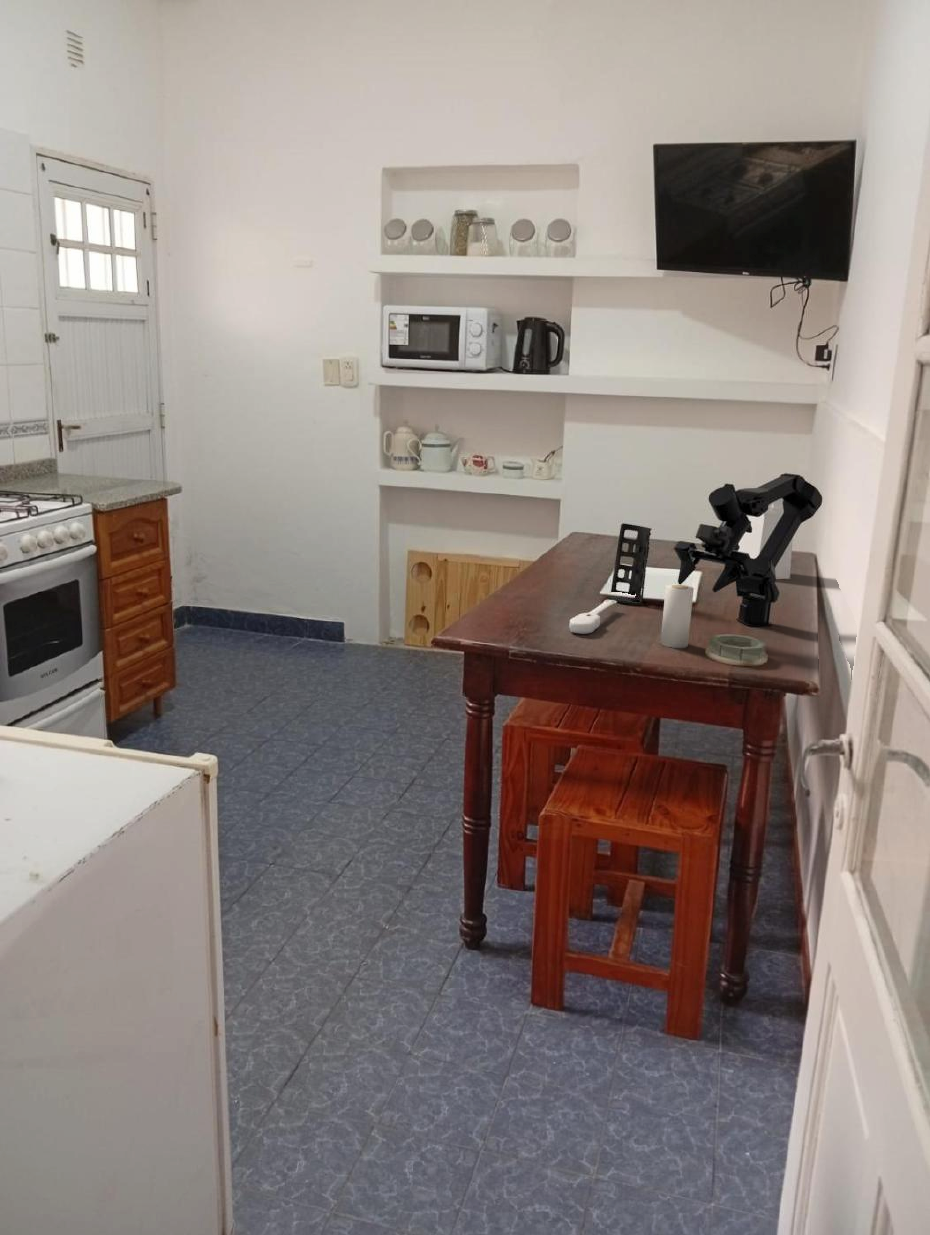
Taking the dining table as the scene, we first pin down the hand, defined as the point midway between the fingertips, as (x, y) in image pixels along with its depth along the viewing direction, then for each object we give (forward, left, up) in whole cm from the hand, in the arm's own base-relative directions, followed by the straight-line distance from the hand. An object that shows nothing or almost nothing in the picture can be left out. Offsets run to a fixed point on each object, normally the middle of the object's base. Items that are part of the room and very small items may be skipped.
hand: (696, 587), depth 222 cm
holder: (-2, -37, -12) cm, 39 cm away
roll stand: (-4, +14, -12) cm, 19 cm away
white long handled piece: (+16, -17, -12) cm, 27 cm away
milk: (-59, -65, -13) cm, 89 cm away
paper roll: (+6, +3, -12) cm, 14 cm away
